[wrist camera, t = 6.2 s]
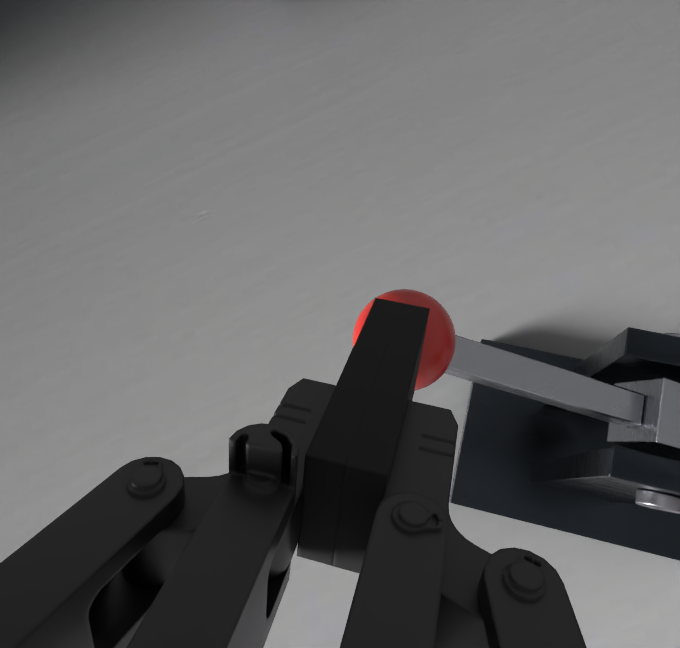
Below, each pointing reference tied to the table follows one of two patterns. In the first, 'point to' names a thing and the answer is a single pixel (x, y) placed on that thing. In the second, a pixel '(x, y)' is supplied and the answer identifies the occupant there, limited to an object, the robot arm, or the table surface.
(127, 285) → the table surface
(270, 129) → the table surface
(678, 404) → the lever
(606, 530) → the bracket
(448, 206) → the table surface
